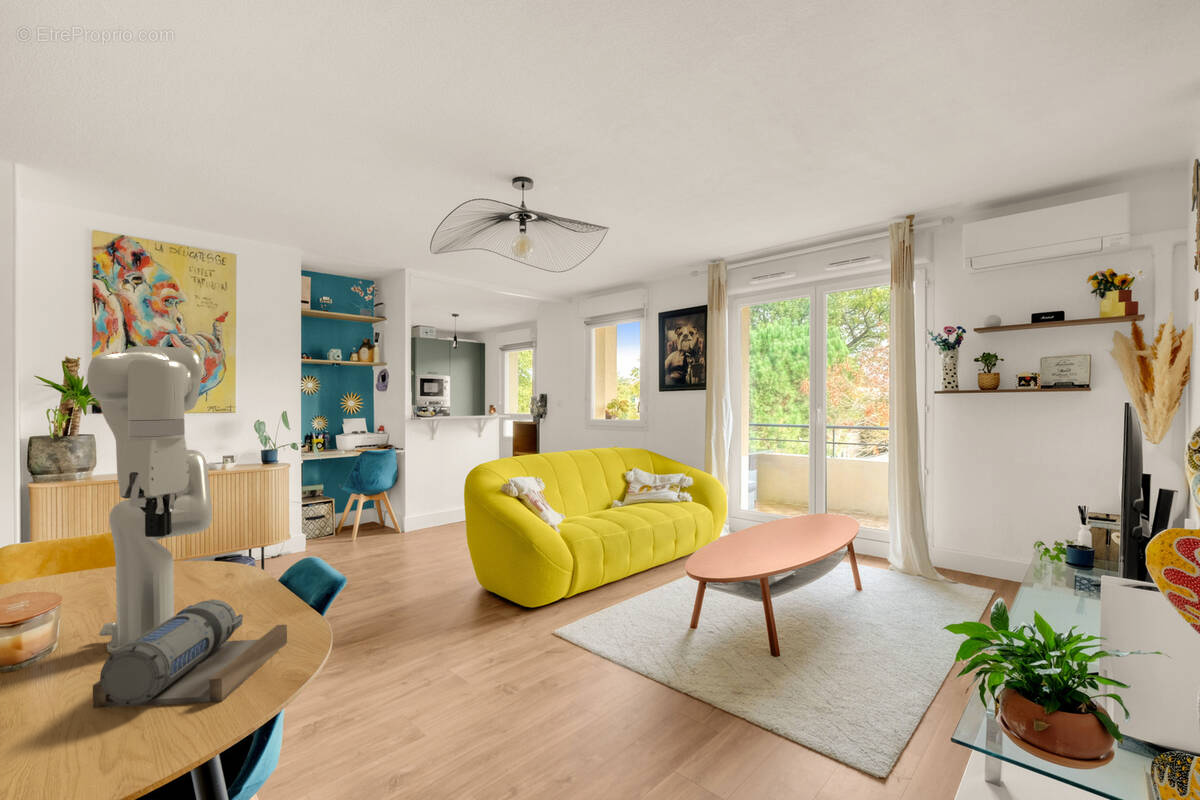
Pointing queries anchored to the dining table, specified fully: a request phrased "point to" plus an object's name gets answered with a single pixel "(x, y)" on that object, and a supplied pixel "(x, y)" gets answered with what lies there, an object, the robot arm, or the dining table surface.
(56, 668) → the dining table surface
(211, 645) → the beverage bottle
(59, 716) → the dining table surface
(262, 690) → the dining table surface
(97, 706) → the u rest
